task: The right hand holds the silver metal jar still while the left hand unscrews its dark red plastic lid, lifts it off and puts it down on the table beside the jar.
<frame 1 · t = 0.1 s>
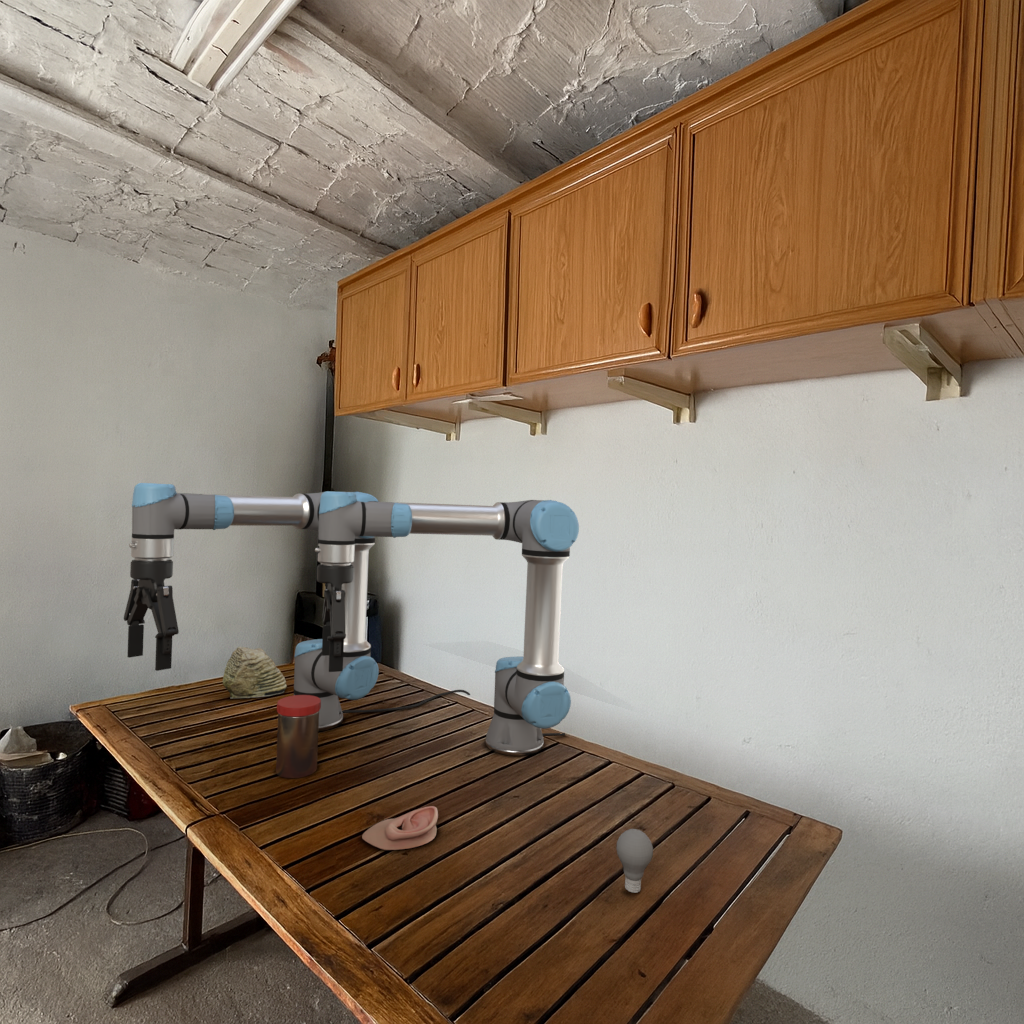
left hand: (148, 662, 129), 28 cm above the table, tool pointing down, fingers open, 13 cm apart
right hand: (331, 662, 135), 28 cm above the table, tool pointing down, fingers open, 13 cm apart
fossil: (254, 694, 198), on the table
anatomical model: (400, 835, 120), on the table
light bulb: (632, 891, 106), on the table
lid: (299, 702, 146), point 16 cm above the table, screwed on, not yet turned
jar: (296, 769, 146), on the table
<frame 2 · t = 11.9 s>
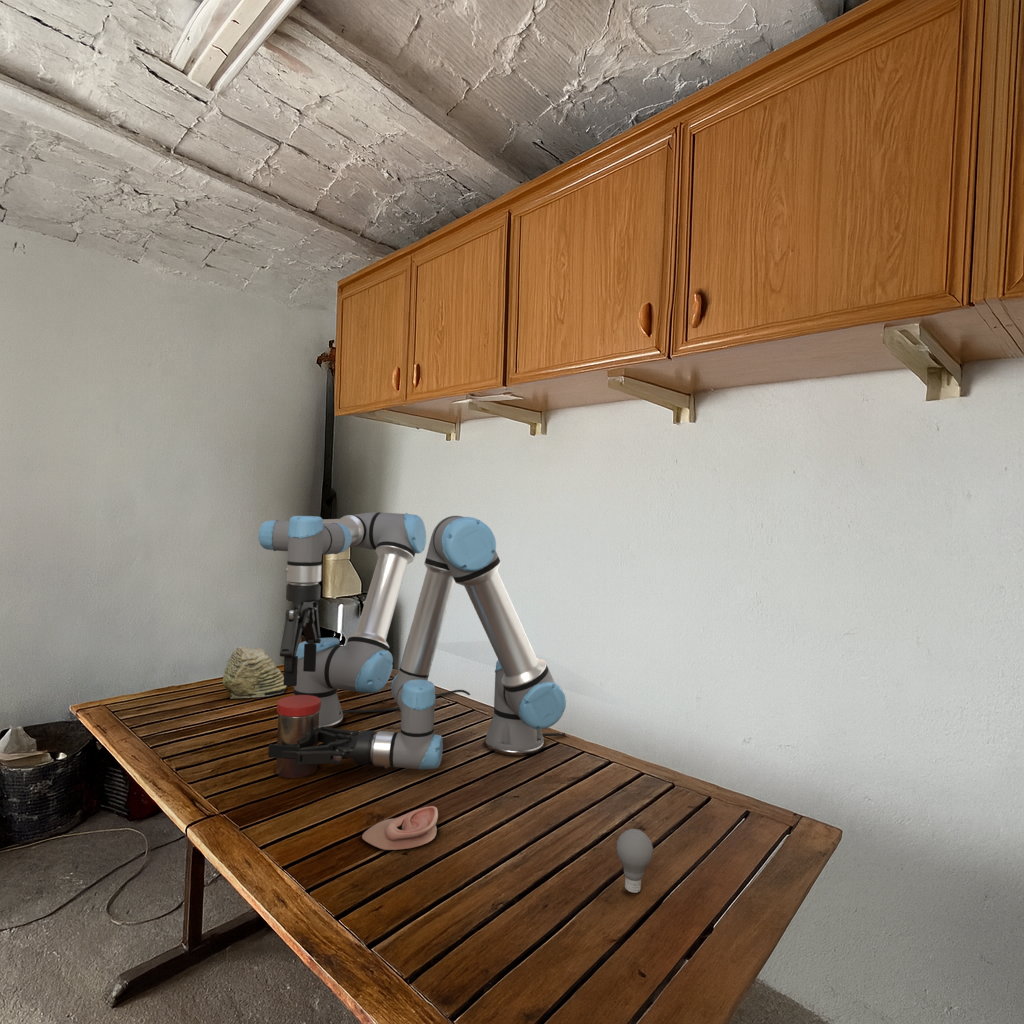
left hand: (300, 678, 146), 21 cm above the table, tool pointing down, fingers open, 11 cm apart
right hand: (278, 742, 146), 6 cm above the table, tool horizontal, fingers closed on jar, 9 cm apart
jar: (296, 769, 146), on the table, touching right hand
everything else where it was.
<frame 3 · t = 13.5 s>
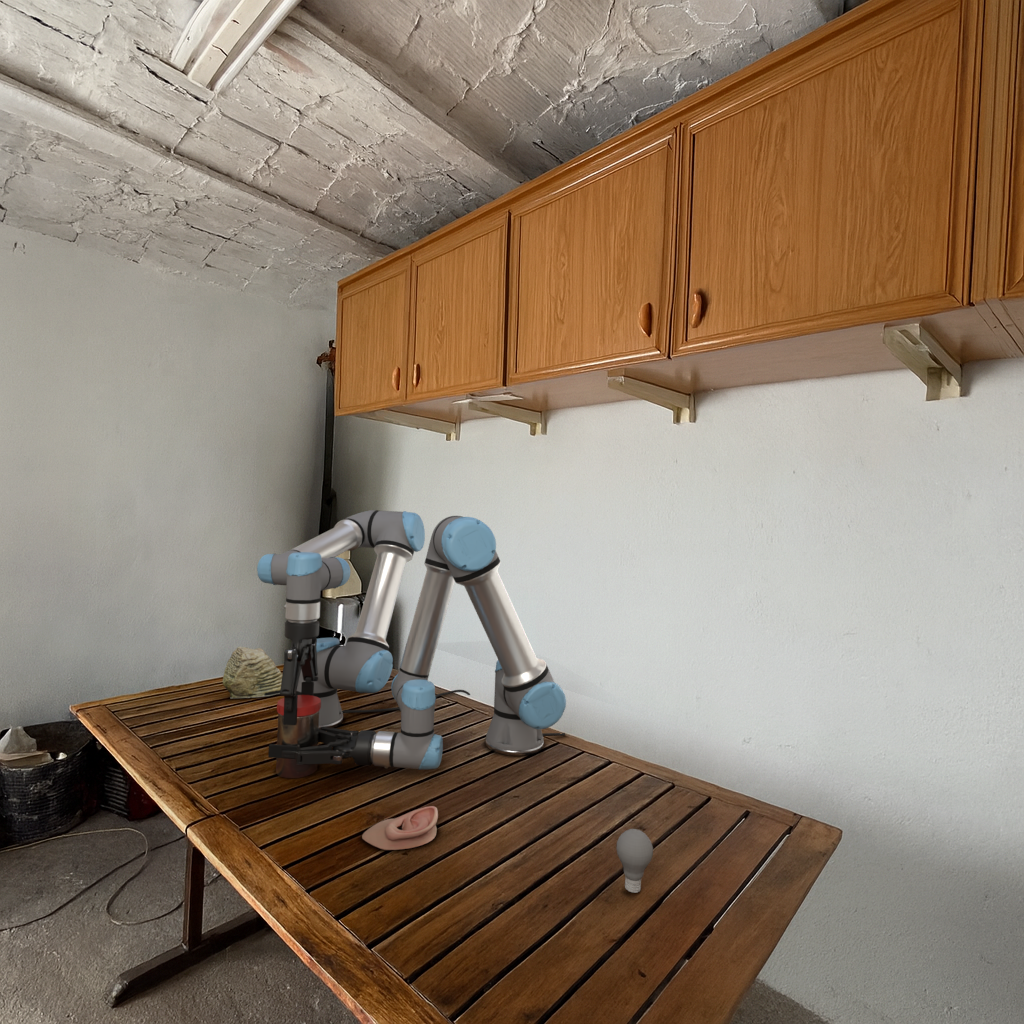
left hand: (298, 716, 146), 12 cm above the table, tool pointing down, fingers closed on lid, 9 cm apart
right hand: (278, 742, 146), 6 cm above the table, tool horizontal, fingers closed on jar, 9 cm apart
lid: (299, 702, 146), point 16 cm above the table, screwed on, not yet turned, touching left hand
jar: (296, 769, 146), on the table, touching right hand
everything else where it was.
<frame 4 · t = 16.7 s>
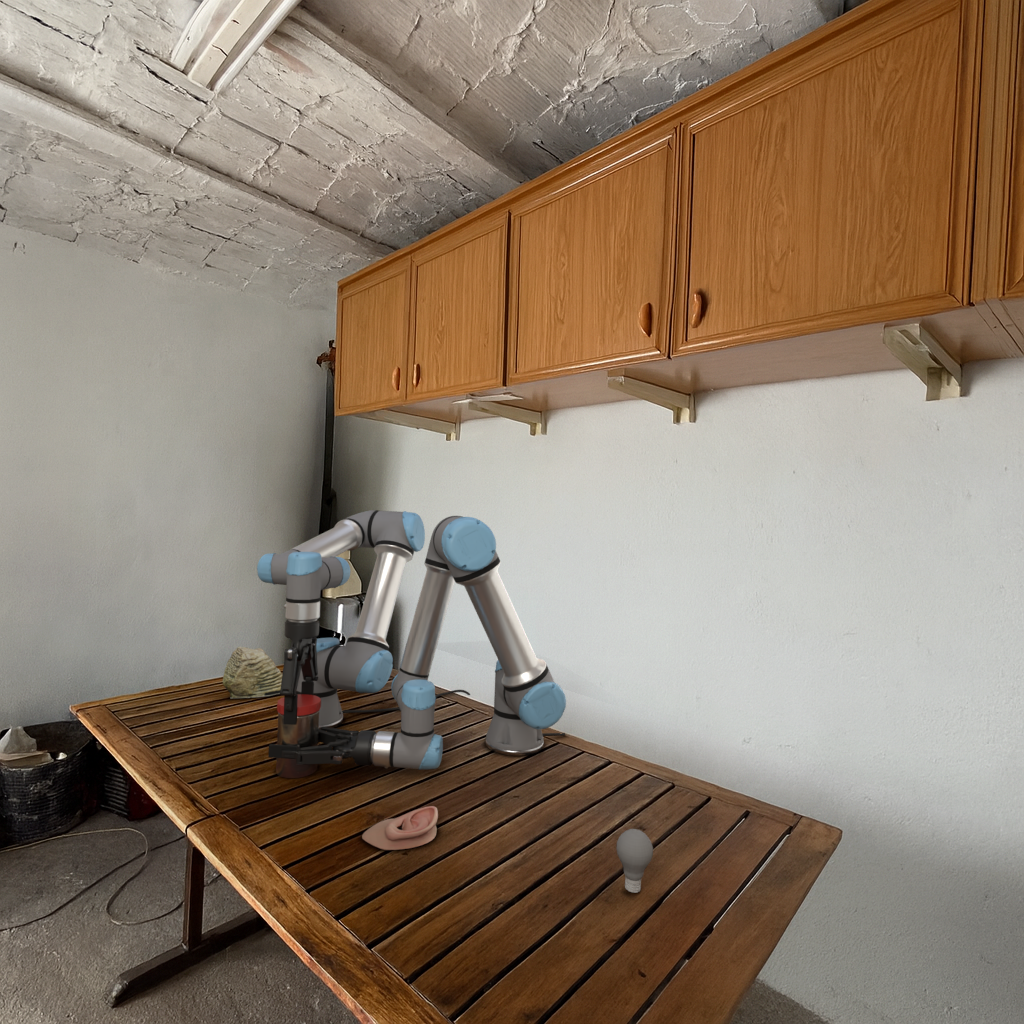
left hand: (298, 716, 146), 12 cm above the table, tool pointing down, fingers closed on lid, 9 cm apart
right hand: (278, 742, 146), 6 cm above the table, tool horizontal, fingers closed on jar, 9 cm apart
lid: (299, 702, 146), point 16 cm above the table, turned 88° so far, risen 0.1 cm, still on its thread, touching left hand
jar: (296, 769, 146), on the table, touching right hand
everything else where it was.
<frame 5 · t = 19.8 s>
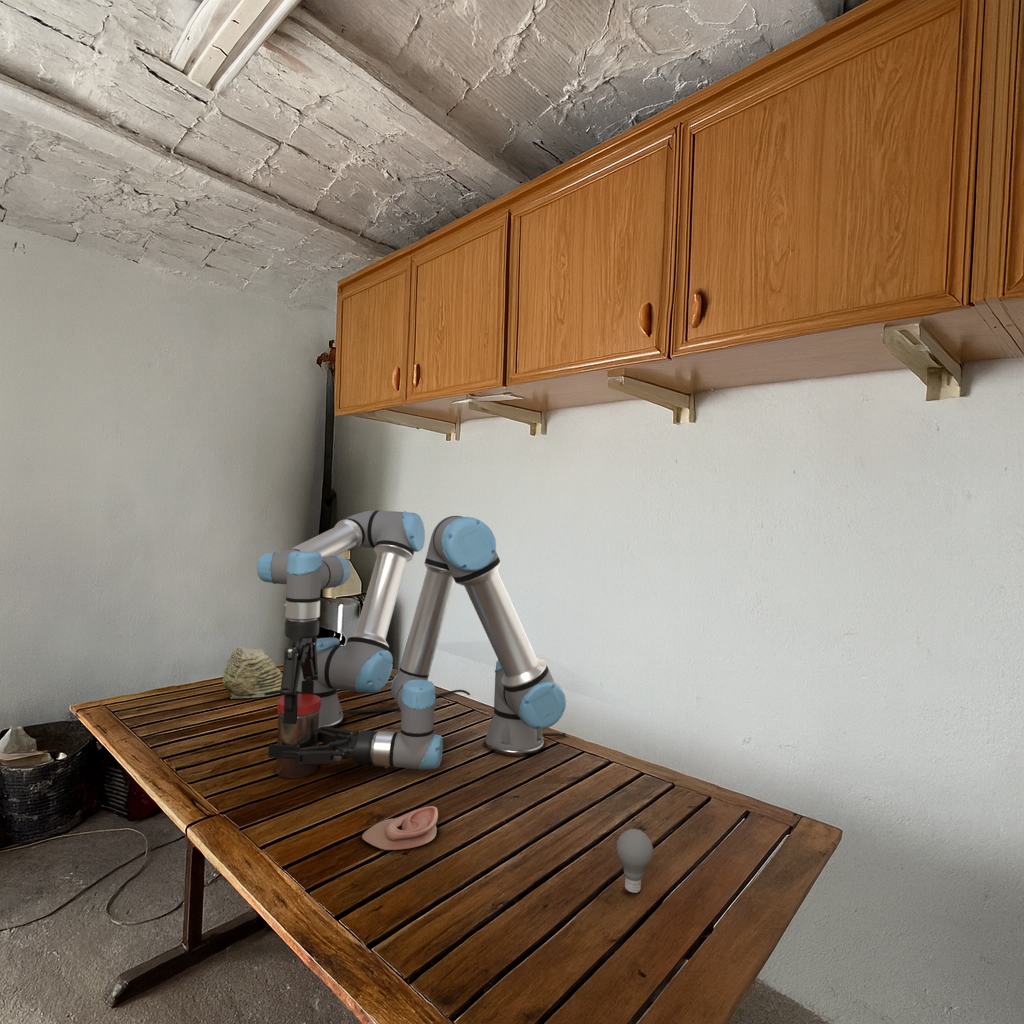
left hand: (298, 715, 146), 13 cm above the table, tool pointing down, fingers closed on lid, 9 cm apart
right hand: (278, 742, 146), 6 cm above the table, tool horizontal, fingers closed on jar, 9 cm apart
lid: (299, 701, 146), point 16 cm above the table, turned 176° so far, risen 0.3 cm, still on its thread, touching left hand
jar: (296, 769, 146), on the table, touching right hand
everything else where it was.
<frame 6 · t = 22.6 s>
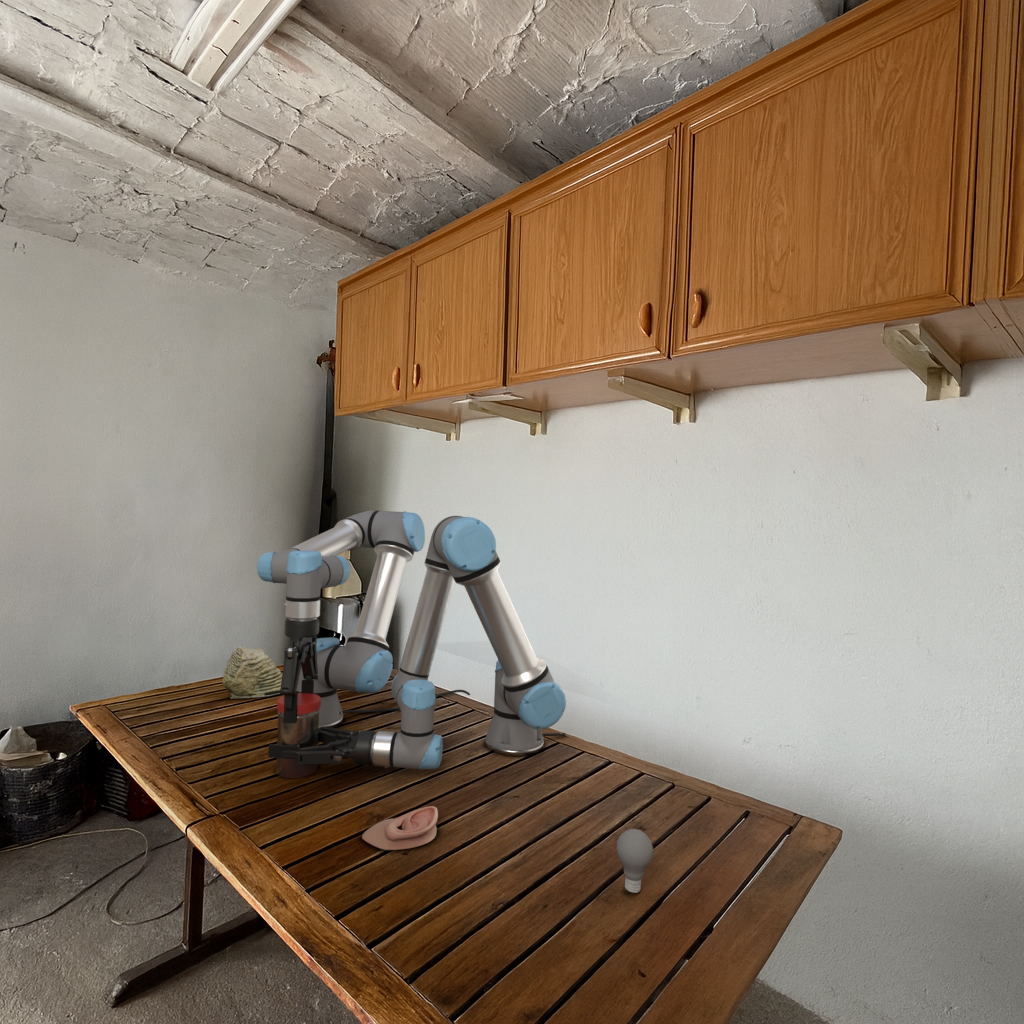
left hand: (298, 714, 146), 13 cm above the table, tool pointing down, fingers closed on lid, 9 cm apart
right hand: (278, 742, 146), 6 cm above the table, tool horizontal, fingers closed on jar, 9 cm apart
lid: (299, 700, 146), point 16 cm above the table, turned 264° so far, risen 0.4 cm, still on its thread, touching left hand
jar: (296, 769, 146), on the table, touching right hand
everything else where it was.
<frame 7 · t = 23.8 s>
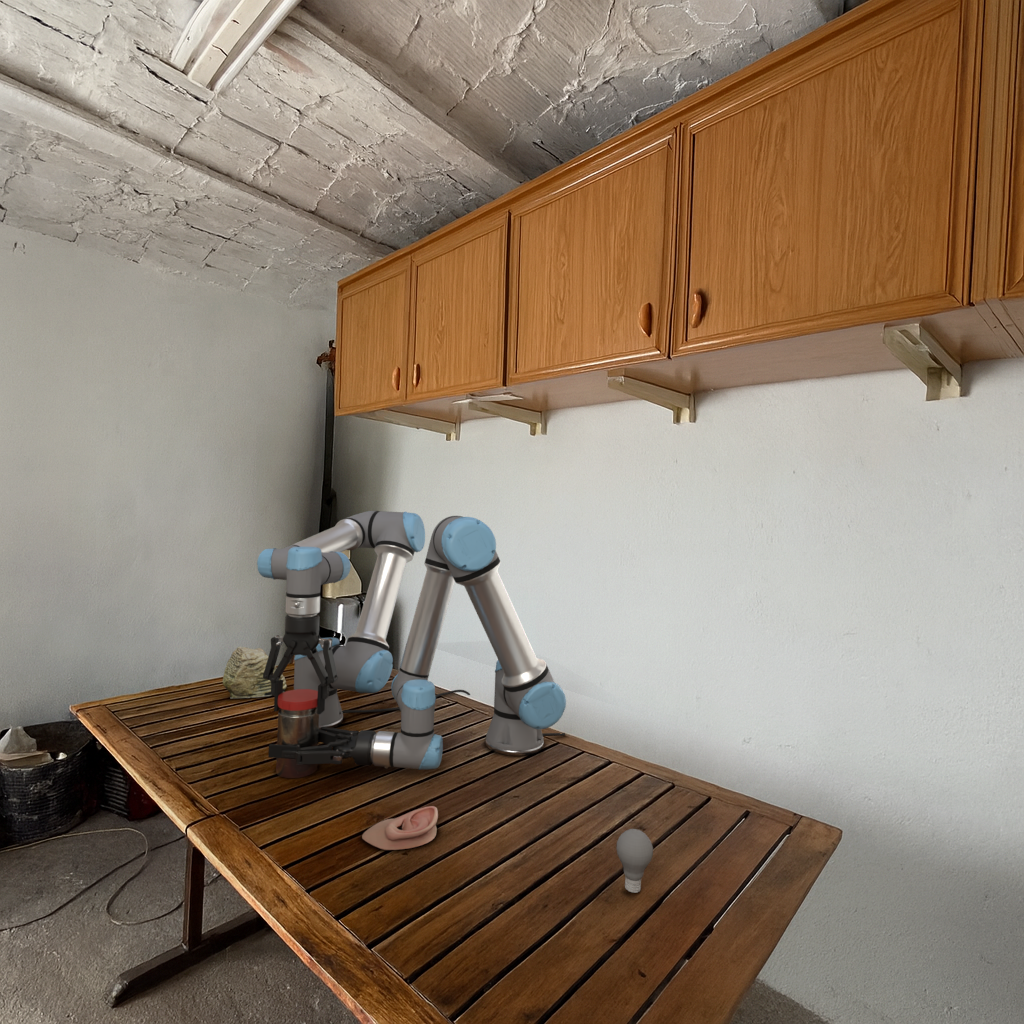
left hand: (299, 710, 146), 14 cm above the table, tool pointing down, fingers closed on lid, 9 cm apart
right hand: (278, 742, 146), 6 cm above the table, tool horizontal, fingers closed on jar, 9 cm apart
lid: (299, 696, 146), point 17 cm above the table, off its thread, touching left hand
jar: (296, 769, 146), on the table, touching right hand
everything else where it was.
when the left hand's fingers open (0 cm above the table, at t = 29.3 s): lid drops 2 cm, point 2 cm above the table.
when the right hand's fingers open (6 cm above the table, at t = 30.4 s): jar stays where it is, on the table.
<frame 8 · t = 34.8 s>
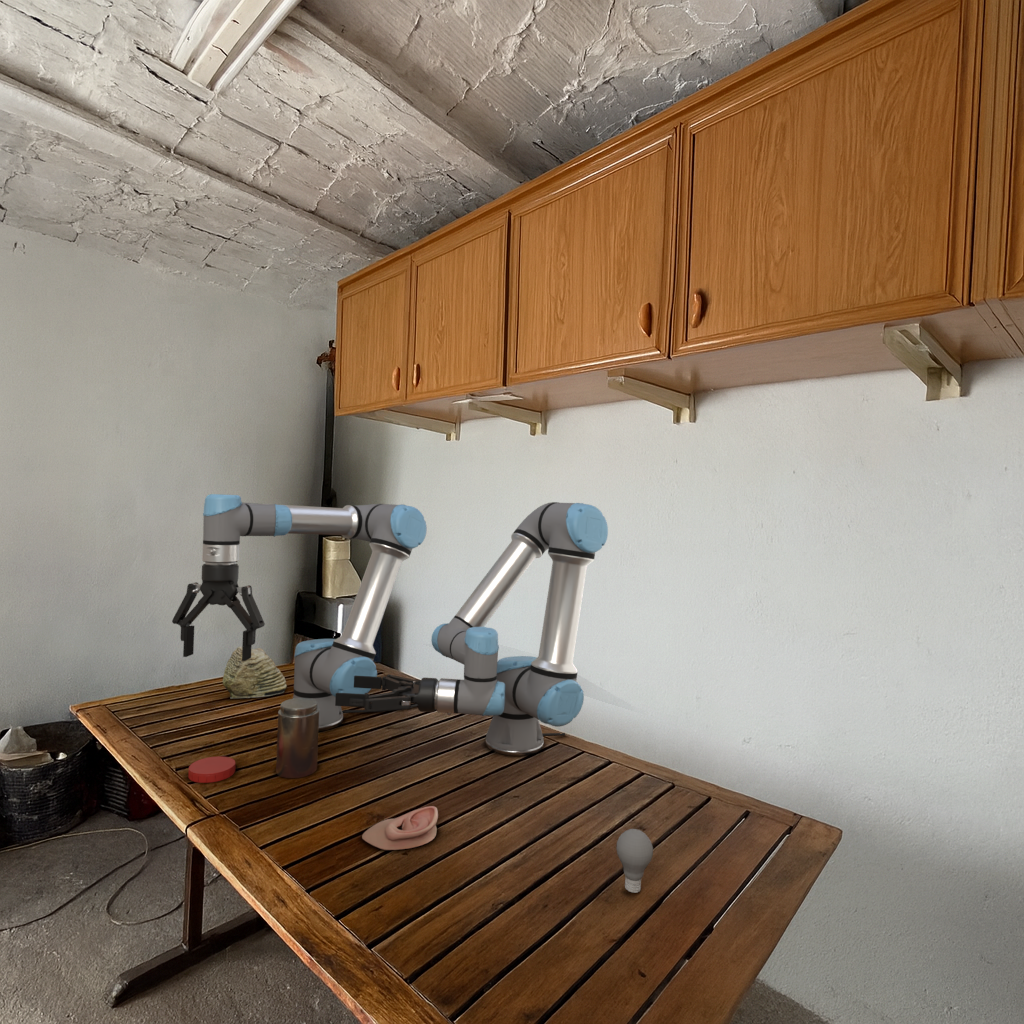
left hand: (217, 657, 142), 26 cm above the table, tool pointing down, fingers open, 13 cm apart
right hand: (345, 689, 145), 19 cm above the table, tool horizontal, fingers open, 13 cm apart
lid: (212, 766, 142), point 2 cm above the table, off its thread
jar: (296, 769, 146), on the table
everything else where it was.
at the end: lid came off its thread; lid point 1.6 cm above the table; the left hand is holding nothing; the right hand is holding nothing; jar tilted 0°; jar moved 0.0 cm from its start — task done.
